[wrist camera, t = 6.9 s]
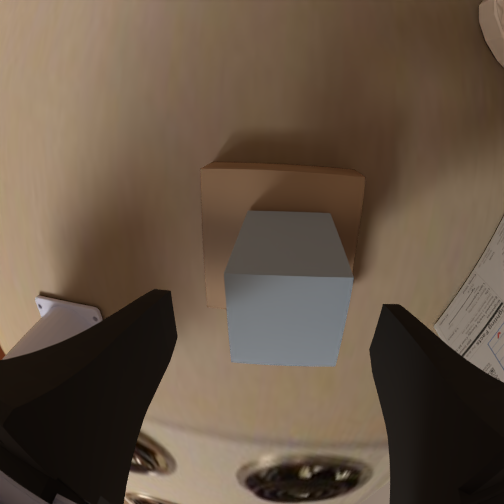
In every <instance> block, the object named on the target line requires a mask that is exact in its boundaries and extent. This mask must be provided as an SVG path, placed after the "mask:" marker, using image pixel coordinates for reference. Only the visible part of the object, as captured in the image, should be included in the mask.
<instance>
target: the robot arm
mask: <svg viewBox="0 0 504 504" xmlns="http://www.w3.org/2000/svg"><path fill="white" fill-rule="evenodd" d="M35 301H36V304H37V307H38V309H39V312H40V315H41V317H42V318H41V319H40V320H39V321H38V322H37V323H36V324H35V325H34V326H33V327H32V328H31V329H30V330H29V331H28V332H27V333H26V334H25V335H24V336H23V337H22V338H21V339H20V341H19V342H18V343H17V344H16V345H15V346H14V347H13V348H12V349H11V350H10V351H9V352H8V354H7V355H6V356H5V357H4V358H3V359H2V360H0V504H124V497H125V491H126V485H127V480H128V475H129V470H130V466H131V461H132V457H133V453H134V450H135V446H136V442H137V439H138V435H139V432H140V429H141V426H142V423H143V419H144V417H145V414H146V412H147V409H148V407H149V405H150V403H151V401H152V399H153V396H154V394H155V392H156V390H157V388H158V386H159V384H160V382H161V379H162V377H163V375H164V373H165V371H166V369H167V367H168V364H169V362H170V360H171V357H172V354H173V351H174V347H175V344H176V340H177V331H176V324H175V318H174V311H173V305H172V297H171V291H167V290H158V289H154V290H152V291H150V292H148V293H146V294H145V295H143V296H141V297H140V298H138V299H137V300H135V301H133V302H132V303H130V304H129V305H127V306H126V307H124V308H122V309H121V310H119V311H118V312H116V313H114V314H113V315H111V316H110V317H108V318H106V319H104V320H103V319H102V316H101V313H100V311H99V309H98V308H96V307H93V306H87V305H82V304H77V303H72V302H67V301H62V300H57V299H53V298H48V297H44V296H39V295H38V296H37V297H36V298H35ZM369 350H370V358H371V366H372V373H373V377H374V381H375V385H376V389H377V393H378V396H379V400H380V404H381V408H382V412H383V416H384V420H385V424H386V430H387V435H388V445H389V457H390V504H504V383H503V382H502V381H500V380H498V379H496V378H494V377H492V376H491V375H489V374H488V373H486V372H484V371H483V370H481V369H480V368H478V367H477V366H475V365H474V364H472V363H471V362H469V361H468V360H467V359H465V358H464V357H462V356H461V355H460V354H459V353H457V352H456V351H455V350H453V349H452V348H451V347H450V346H448V345H447V344H446V343H445V342H444V341H442V340H441V339H440V338H439V337H438V336H436V335H435V334H434V333H433V332H432V331H431V330H429V329H428V328H427V327H426V326H425V325H424V324H423V323H421V322H420V321H419V320H418V319H417V318H416V317H415V316H413V315H412V314H411V313H410V312H409V311H407V310H406V309H405V308H404V307H402V306H401V305H399V304H383V306H382V310H381V314H380V317H379V320H378V324H377V327H376V330H375V334H374V337H373V340H372V343H371V346H370V349H369Z"/></svg>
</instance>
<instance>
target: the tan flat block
mask: <svg viewBox="0 0 504 504" xmlns="http://www.w3.org/2000/svg"><path fill="white" fill-rule="evenodd" d="M200 170H201V206H202V231H203V251H204V269H205V285H206V299H207V307H211V308H221V309H227V308H226V295H225V282H224V271H225V269H226V266H227V264H228V261H229V258H230V256H231V253H232V250H233V248H234V245H235V243H236V240H237V237H238V235H239V232H240V230H241V227H242V225H243V222H244V219H245V217H246V214H247V212H248V211H286V212H315V213H330V214H331V216H332V219H333V222H334V224H335V227H336V229H337V232H338V235H339V237H340V240H341V243H342V245H343V248H344V251H345V254H346V256H347V259H348V262H349V265H350V268H351V271H353V265H354V259H355V253H356V247H357V241H358V234H359V228H360V220H361V213H362V205H363V197H364V188H365V179H366V178H365V177H364V176H363V175H361V174H360V173H358V172H357V171H356V170H353V169H343V168H332V167H320V166H307V165H291V164H272V163H243V162H212V163H210V164H208V165H206V166H204V167H203V168H201V169H200Z"/></svg>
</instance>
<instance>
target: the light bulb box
mask: <svg viewBox="0 0 504 504" xmlns="http://www.w3.org/2000/svg"><path fill="white" fill-rule="evenodd" d="M434 328H435V330H436V331H437V333H438V335H439V336H440V338H441V340H442V341H444V342H445V343H446V344H447V345H448V346H450V347H451V348H452V349H453V350H455V351H456V352H457V353H459V354H460V355H461V356H462V357H464V358H465V359H467V360H468V361H469V362H471V363H472V364H474V365H475V366H477V367H478V368H480V369H481V370H483V371H484V372H486V373H488V374H489V375H491V376H492V377H494V378H496V379H498V380H500V381H502V382H503V383H504V216H503V218H502V220H501V222H500V224H499V226H498V228H497V230H496V232H495V234H494V235H493V237H492V239H491V241H490V243H489V244H488V246H487V248H486V250H485V251H484V253H483V255H482V257H481V258H480V260H479V262H478V263H477V265H476V266H475V268H474V270H473V271H472V273H471V274H470V276H469V277H468V279H467V280H466V282H465V284H464V285H463V287H462V288H461V289H460V291H459V292H458V294H457V295H456V297H455V298H454V300H453V301H452V302H451V304H450V305H449V307H448V308H447V309H446V311H445V312H444V313H443V315H442V316H441V317H440V319H439V320H438V321H437V322H436V324H435V325H434Z"/></svg>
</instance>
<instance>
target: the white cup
mask: <svg viewBox="0 0 504 504" xmlns="http://www.w3.org/2000/svg"><path fill="white" fill-rule="evenodd" d="M479 24H480V26H481V29H482V32H483V35H484V38H485V41H486V43H487V45H488V46H489V48H490V50H491V51H492V53H493V55H494V56H495V58H496V60H497V61H498V62H499V63H500V64H501V65H502V66H503V67H504V0H483V1H482V2H481V4H480V5H479Z"/></svg>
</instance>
